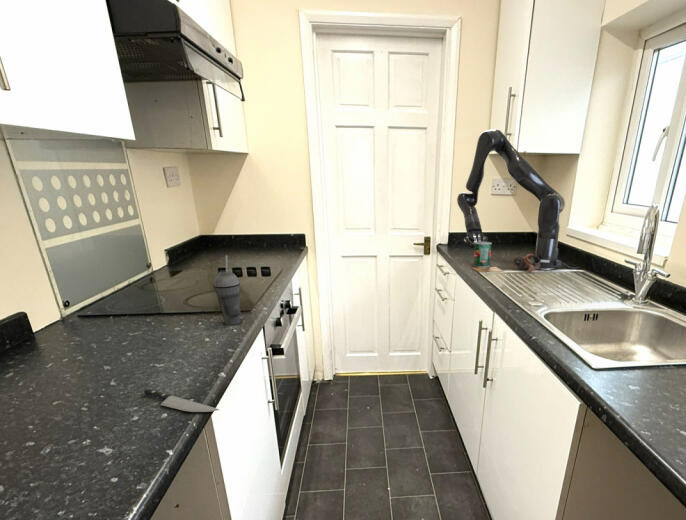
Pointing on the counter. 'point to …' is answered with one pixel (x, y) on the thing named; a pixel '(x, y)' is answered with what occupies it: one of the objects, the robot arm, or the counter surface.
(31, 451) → the counter surface
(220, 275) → the beverage cup
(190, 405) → the chef's knife
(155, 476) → the counter surface
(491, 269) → the trivet
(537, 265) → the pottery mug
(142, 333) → the counter surface
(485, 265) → the canned tomato
